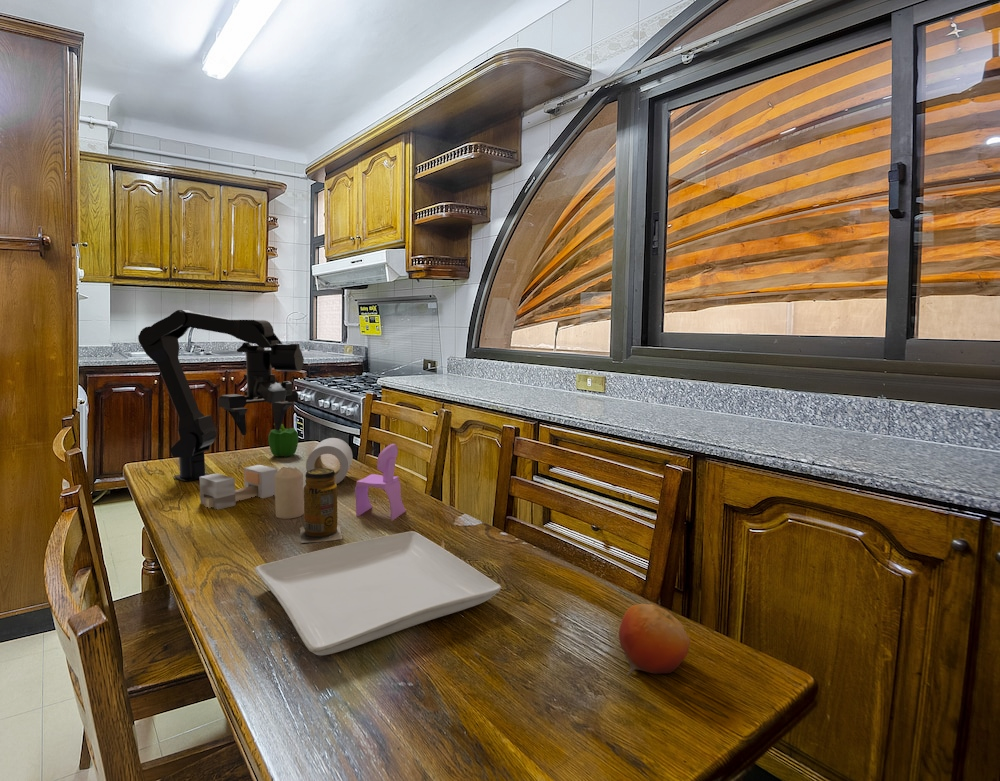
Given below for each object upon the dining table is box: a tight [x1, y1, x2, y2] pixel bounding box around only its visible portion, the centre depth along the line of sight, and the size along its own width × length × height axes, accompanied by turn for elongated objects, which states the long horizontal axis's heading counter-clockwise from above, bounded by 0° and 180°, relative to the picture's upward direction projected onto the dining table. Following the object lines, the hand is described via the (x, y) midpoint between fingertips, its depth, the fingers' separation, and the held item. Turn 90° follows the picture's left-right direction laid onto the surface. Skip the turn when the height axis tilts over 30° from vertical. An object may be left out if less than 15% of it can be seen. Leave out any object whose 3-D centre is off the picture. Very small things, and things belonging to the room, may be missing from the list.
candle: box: [274, 466, 304, 520], centre depth 118 cm, size 6×6×10 cm
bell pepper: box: [267, 423, 299, 457], centre depth 171 cm, size 8×8×10 cm
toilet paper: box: [305, 437, 353, 485], centre depth 145 cm, size 10×10×10 cm
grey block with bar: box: [198, 472, 259, 511], centre depth 130 cm, size 7×18×6 cm, turn 145°
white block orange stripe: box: [243, 464, 279, 499], centre depth 133 cm, size 7×4×6 cm, turn 55°
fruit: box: [618, 603, 691, 676], centre depth 67 cm, size 8×8×8 cm
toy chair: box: [354, 443, 406, 521], centre depth 120 cm, size 8×9×15 cm
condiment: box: [299, 467, 343, 544], centre depth 108 cm, size 7×8×12 cm
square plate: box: [254, 530, 502, 656], centre depth 84 cm, size 27×27×4 cm
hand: (261, 432), depth 144 cm, fingers open, 9 cm apart
